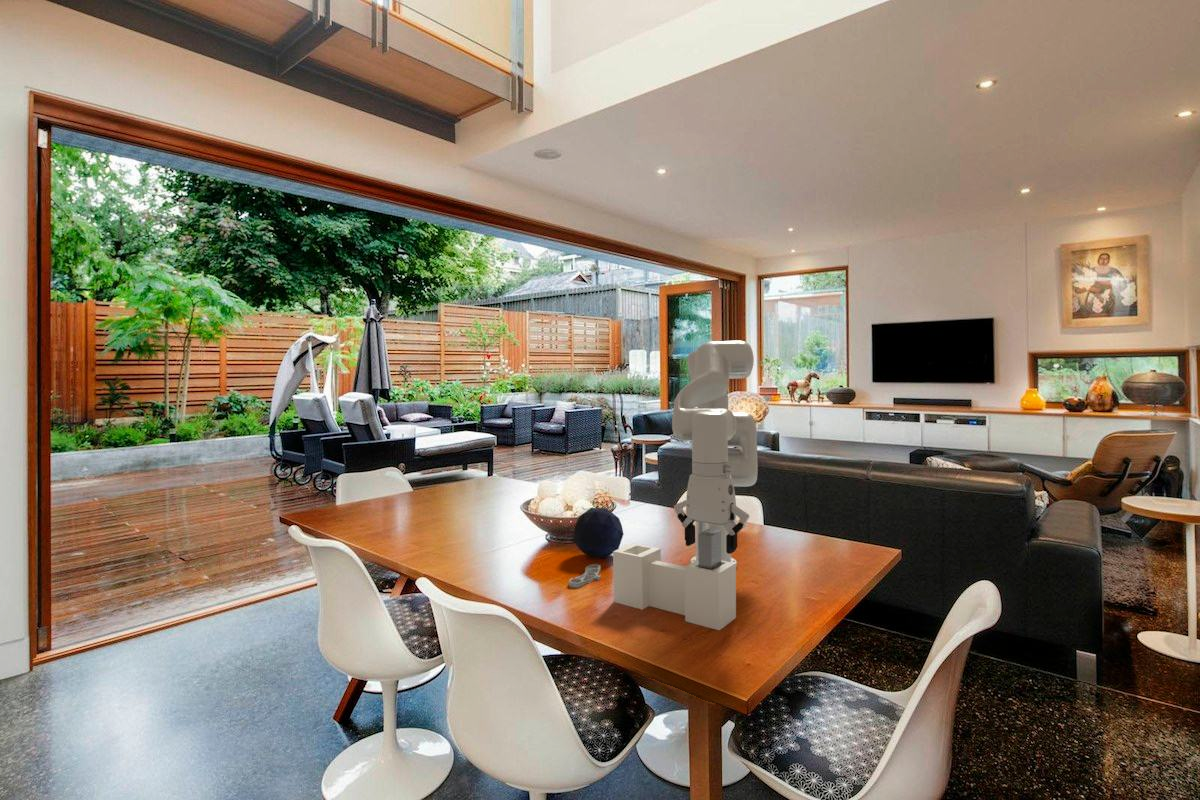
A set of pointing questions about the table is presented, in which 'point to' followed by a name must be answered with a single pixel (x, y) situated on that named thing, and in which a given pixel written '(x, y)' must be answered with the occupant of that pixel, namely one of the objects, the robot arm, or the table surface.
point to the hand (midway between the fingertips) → (710, 548)
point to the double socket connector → (675, 586)
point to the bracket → (586, 576)
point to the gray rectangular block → (709, 549)
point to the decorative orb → (598, 533)
